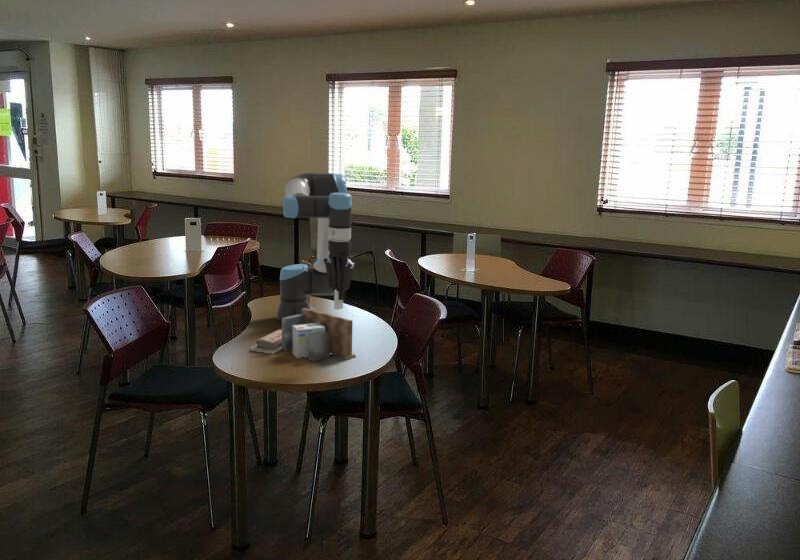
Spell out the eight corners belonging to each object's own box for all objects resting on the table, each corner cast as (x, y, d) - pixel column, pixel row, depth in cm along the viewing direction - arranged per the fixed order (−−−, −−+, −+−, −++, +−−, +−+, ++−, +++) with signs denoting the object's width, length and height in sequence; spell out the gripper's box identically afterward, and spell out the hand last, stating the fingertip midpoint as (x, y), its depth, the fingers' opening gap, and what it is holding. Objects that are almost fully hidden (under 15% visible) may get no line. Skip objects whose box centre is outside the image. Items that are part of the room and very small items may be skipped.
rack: (281, 349, 241) (281, 312, 238) (307, 342, 251) (308, 307, 248) (329, 365, 226) (330, 326, 223) (355, 357, 235) (356, 319, 233)
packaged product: (275, 327, 255) (298, 330, 252) (275, 339, 256) (297, 342, 253) (249, 339, 238) (273, 342, 235) (249, 352, 239) (273, 355, 236)
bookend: (308, 360, 231) (308, 335, 229) (325, 355, 237) (325, 330, 235) (313, 361, 229) (313, 336, 227) (330, 356, 235) (330, 332, 233)
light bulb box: (319, 350, 242) (319, 322, 240) (326, 355, 237) (326, 326, 234) (291, 353, 238) (291, 324, 236) (297, 359, 232) (297, 329, 230)
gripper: (317, 238, 220) (317, 306, 225) (345, 243, 212) (344, 314, 217) (333, 236, 225) (332, 303, 230) (361, 241, 217) (360, 310, 222)
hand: (338, 308), depth 224 cm, fingers closed
